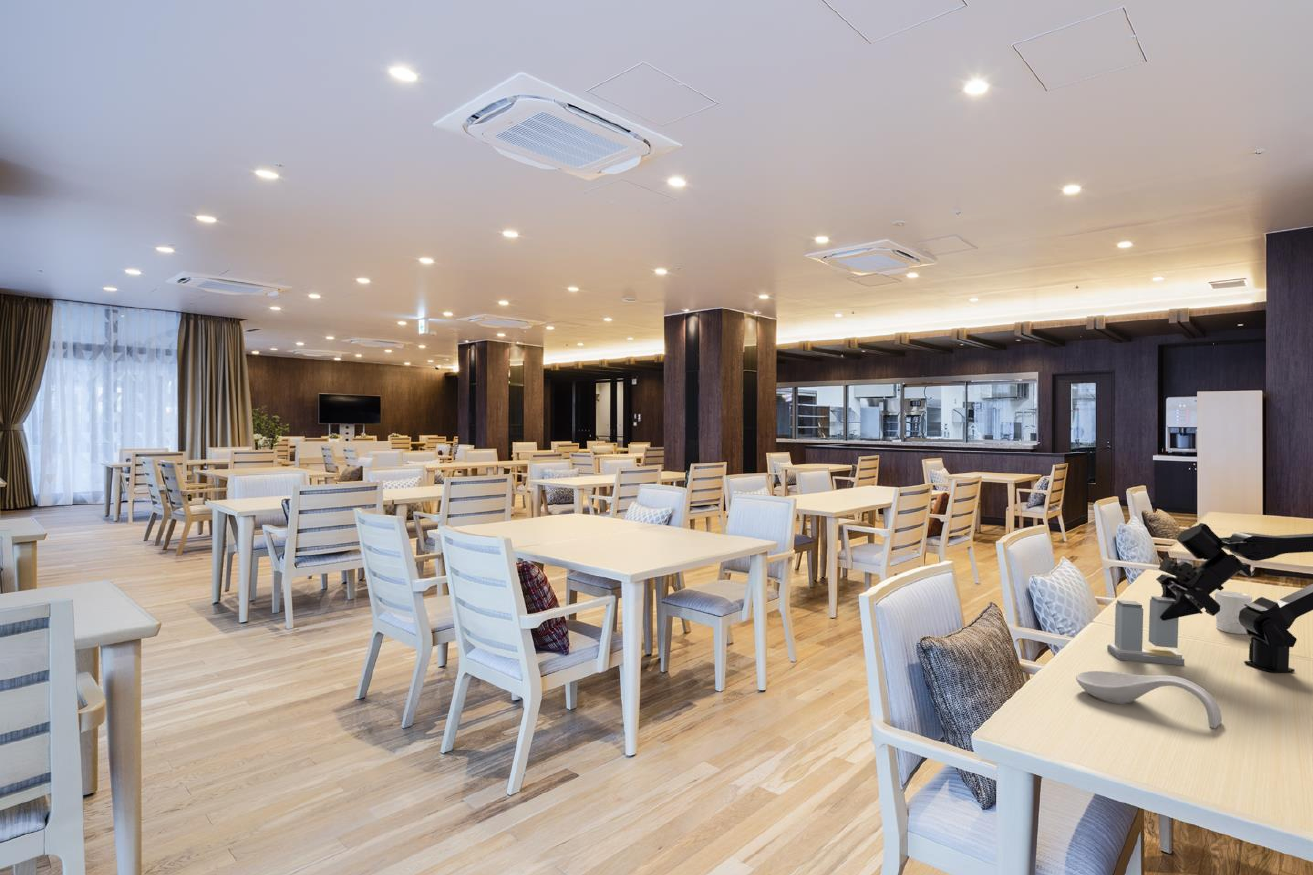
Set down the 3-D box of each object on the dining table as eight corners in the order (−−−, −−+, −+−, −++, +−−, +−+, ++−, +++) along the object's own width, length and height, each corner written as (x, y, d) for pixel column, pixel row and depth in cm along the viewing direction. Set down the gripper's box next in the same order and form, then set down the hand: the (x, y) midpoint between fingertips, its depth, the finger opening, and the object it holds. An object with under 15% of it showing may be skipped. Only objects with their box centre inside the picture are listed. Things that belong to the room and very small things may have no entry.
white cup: (1258, 635, 188) (1260, 598, 188) (1229, 634, 188) (1230, 597, 188) (1235, 626, 196) (1236, 591, 195) (1206, 626, 196) (1207, 590, 196)
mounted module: (1135, 646, 170) (1136, 601, 169) (1142, 651, 166) (1143, 605, 166) (1114, 644, 171) (1115, 599, 171) (1121, 649, 167) (1122, 603, 167)
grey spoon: (1066, 696, 143) (1067, 661, 143) (1086, 682, 151) (1087, 649, 151) (1212, 736, 125) (1213, 696, 125) (1226, 719, 133) (1227, 681, 133)
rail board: (1170, 655, 169) (1170, 647, 169) (1184, 665, 162) (1184, 656, 162) (1107, 650, 172) (1107, 642, 172) (1118, 659, 166) (1118, 651, 166)
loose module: (1169, 642, 168) (1171, 597, 168) (1177, 648, 164) (1179, 601, 164) (1148, 641, 169) (1150, 595, 169) (1156, 646, 165) (1157, 599, 165)
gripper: (1166, 541, 174) (1115, 582, 177) (1205, 554, 156) (1147, 600, 159) (1202, 575, 172) (1149, 616, 175) (1246, 592, 154) (1186, 637, 157)
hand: (1157, 616), depth 167 cm, fingers closed on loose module, 4 cm apart
